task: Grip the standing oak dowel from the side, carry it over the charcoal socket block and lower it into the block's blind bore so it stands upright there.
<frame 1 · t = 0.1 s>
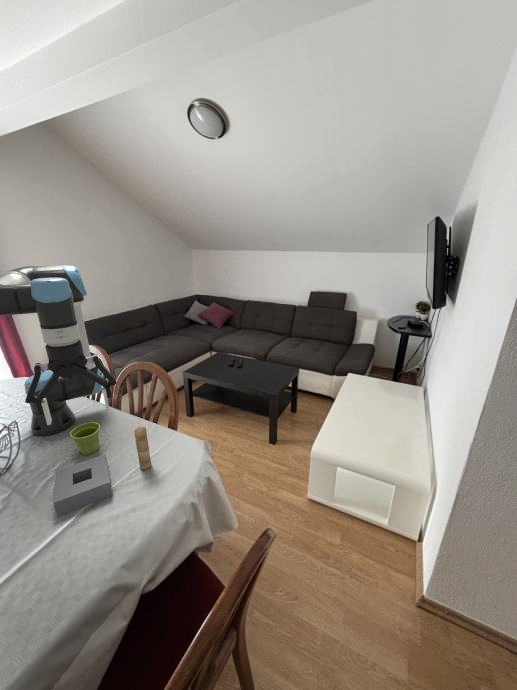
hand: (79, 415, 77), 28 cm above the table, tool pointing down, fingers open, 13 cm apart
socket block: (85, 488, 88), on the table
plant pot: (89, 449, 105), on the table
oak dowel: (145, 466, 97), on the table
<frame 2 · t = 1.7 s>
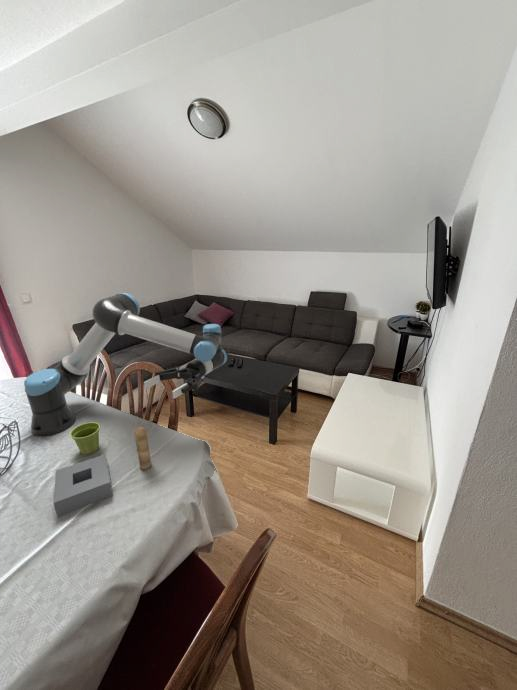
hand: (158, 390, 97), 25 cm above the table, tool horizontal, fingers open, 13 cm apart
nothing on the table moved.
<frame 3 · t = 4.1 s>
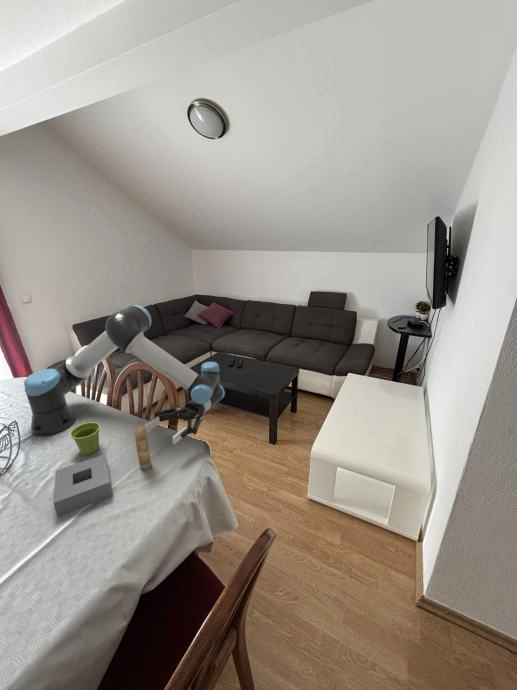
hand: (158, 434, 100), 9 cm above the table, tool horizontal, fingers open, 13 cm apart
nothing on the table moved.
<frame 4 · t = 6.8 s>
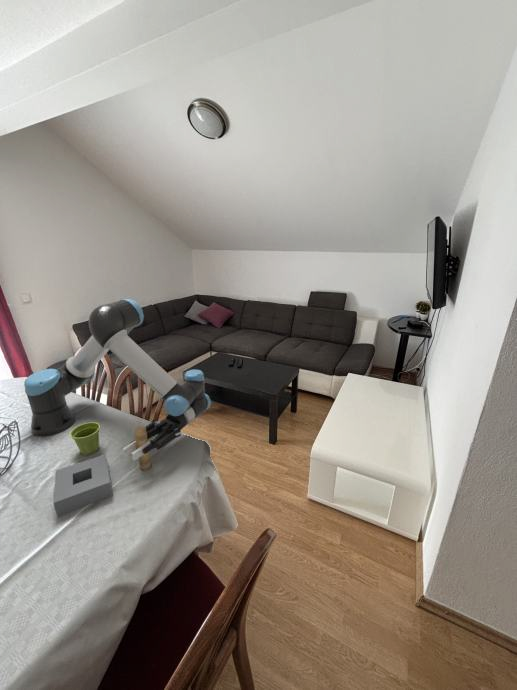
hand: (128, 454, 90), 9 cm above the table, tool horizontal, fingers closed on oak dowel, 3 cm apart
oak dowel: (145, 466, 97), on the table, touching gripper
everything else where it was.
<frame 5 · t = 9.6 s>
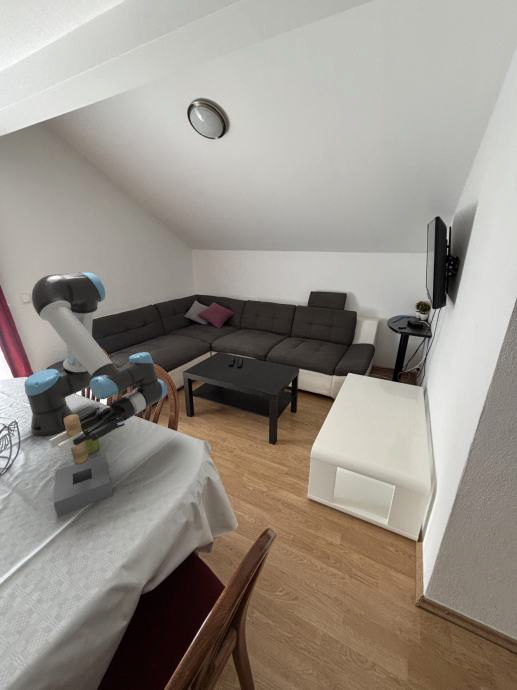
hand: (55, 446, 77), 20 cm above the table, tool horizontal, fingers closed on oak dowel, 3 cm apart
oak dowel: (81, 460, 85), point 11 cm above the table, touching gripper
everything else where it was.
when the fingers open (11 cm above the table, at t = 12.5 s): oak dowel stays where it is, resting on socket block.
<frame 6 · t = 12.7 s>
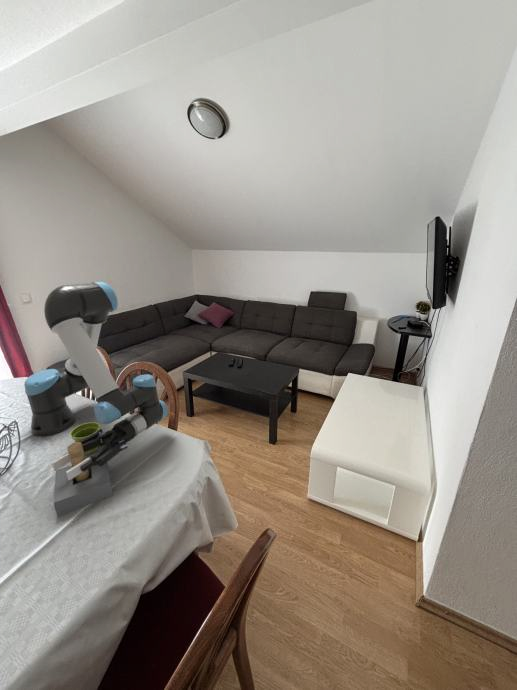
hand: (60, 471, 80), 11 cm above the table, tool horizontal, fingers open, 7 cm apart
oak dowel: (84, 486, 88), point 1 cm above the table, touching socket block
everything else where it was.
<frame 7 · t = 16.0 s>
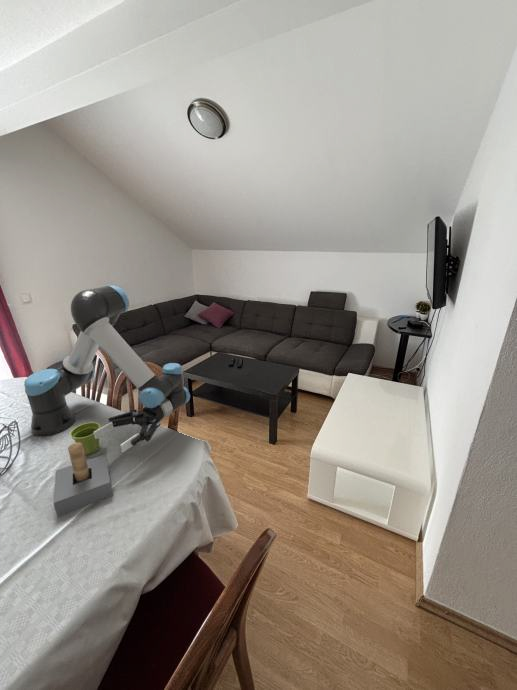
hand: (107, 441, 92), 11 cm above the table, tool horizontal, fingers open, 13 cm apart
nothing on the table moved.
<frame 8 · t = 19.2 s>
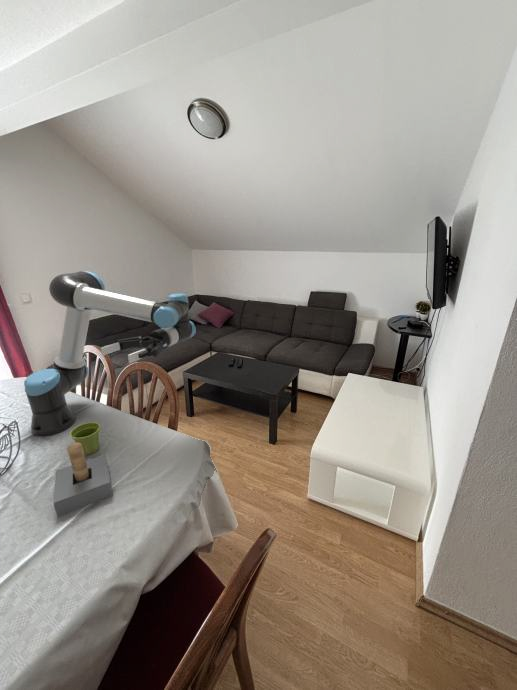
hand: (114, 355, 92), 38 cm above the table, tool horizontal, fingers open, 13 cm apart
nothing on the table moved.
at the end: oak dowel 0.0 cm off-centre on the socket block, point 1.0 cm above the socket block's base; oak dowel tilted 0°; the gripper is holding nothing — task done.
